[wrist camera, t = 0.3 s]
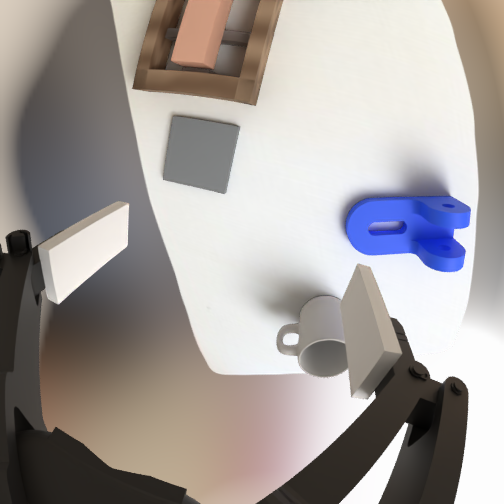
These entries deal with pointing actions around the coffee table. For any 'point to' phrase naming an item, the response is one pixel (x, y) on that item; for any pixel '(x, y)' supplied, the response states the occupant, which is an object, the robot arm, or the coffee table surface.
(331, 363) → the mug
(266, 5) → the brown wooden frame
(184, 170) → the rubber pad
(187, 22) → the terracotta block
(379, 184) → the coffee table surface
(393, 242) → the bracket
